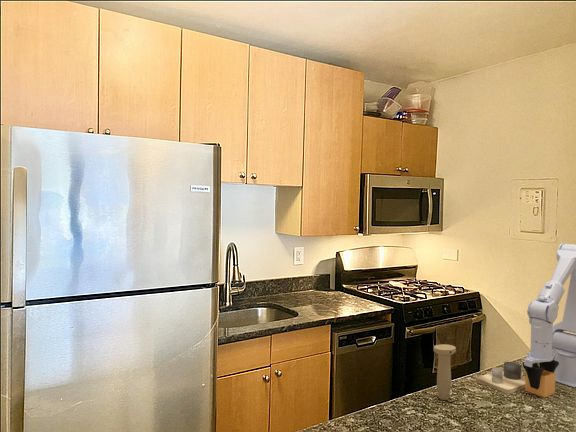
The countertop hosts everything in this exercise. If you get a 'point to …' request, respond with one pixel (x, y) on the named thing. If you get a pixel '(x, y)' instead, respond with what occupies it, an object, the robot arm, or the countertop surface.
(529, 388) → the sleeve
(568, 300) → the robot arm
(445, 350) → the handle
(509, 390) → the fitting board
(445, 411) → the countertop surface
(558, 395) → the countertop surface
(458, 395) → the countertop surface
